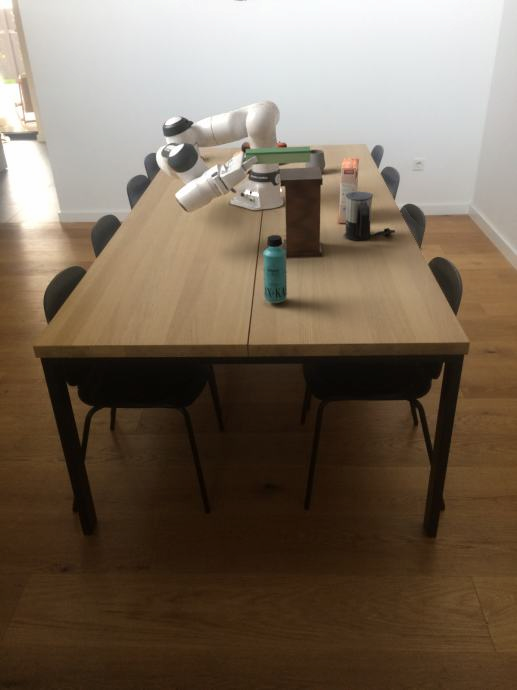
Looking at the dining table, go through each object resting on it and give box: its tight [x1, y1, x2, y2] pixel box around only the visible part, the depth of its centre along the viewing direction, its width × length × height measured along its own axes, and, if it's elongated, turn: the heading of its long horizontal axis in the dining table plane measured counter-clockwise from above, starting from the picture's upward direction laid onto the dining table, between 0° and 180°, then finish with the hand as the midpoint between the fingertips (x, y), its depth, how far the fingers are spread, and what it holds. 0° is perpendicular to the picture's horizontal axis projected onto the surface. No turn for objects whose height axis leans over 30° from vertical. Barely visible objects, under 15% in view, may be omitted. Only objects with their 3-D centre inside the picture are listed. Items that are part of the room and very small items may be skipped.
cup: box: [305, 149, 326, 174], centre depth 271 cm, size 10×9×10 cm
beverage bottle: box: [262, 234, 288, 304], centre depth 160 cm, size 6×7×20 cm
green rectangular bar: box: [245, 146, 311, 164], centre depth 180 cm, size 20×5×4 cm, turn 88°
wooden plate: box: [232, 141, 288, 165], centre depth 298 cm, size 32×32×8 cm
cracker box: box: [338, 157, 360, 224], centre depth 215 cm, size 14×6×21 cm, turn 168°
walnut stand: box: [280, 167, 324, 259], centre depth 190 cm, size 13×13×26 cm
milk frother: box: [344, 190, 396, 241], centre depth 200 cm, size 14×16×15 cm
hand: (257, 155), depth 180 cm, fingers closed on green rectangular bar, 4 cm apart
